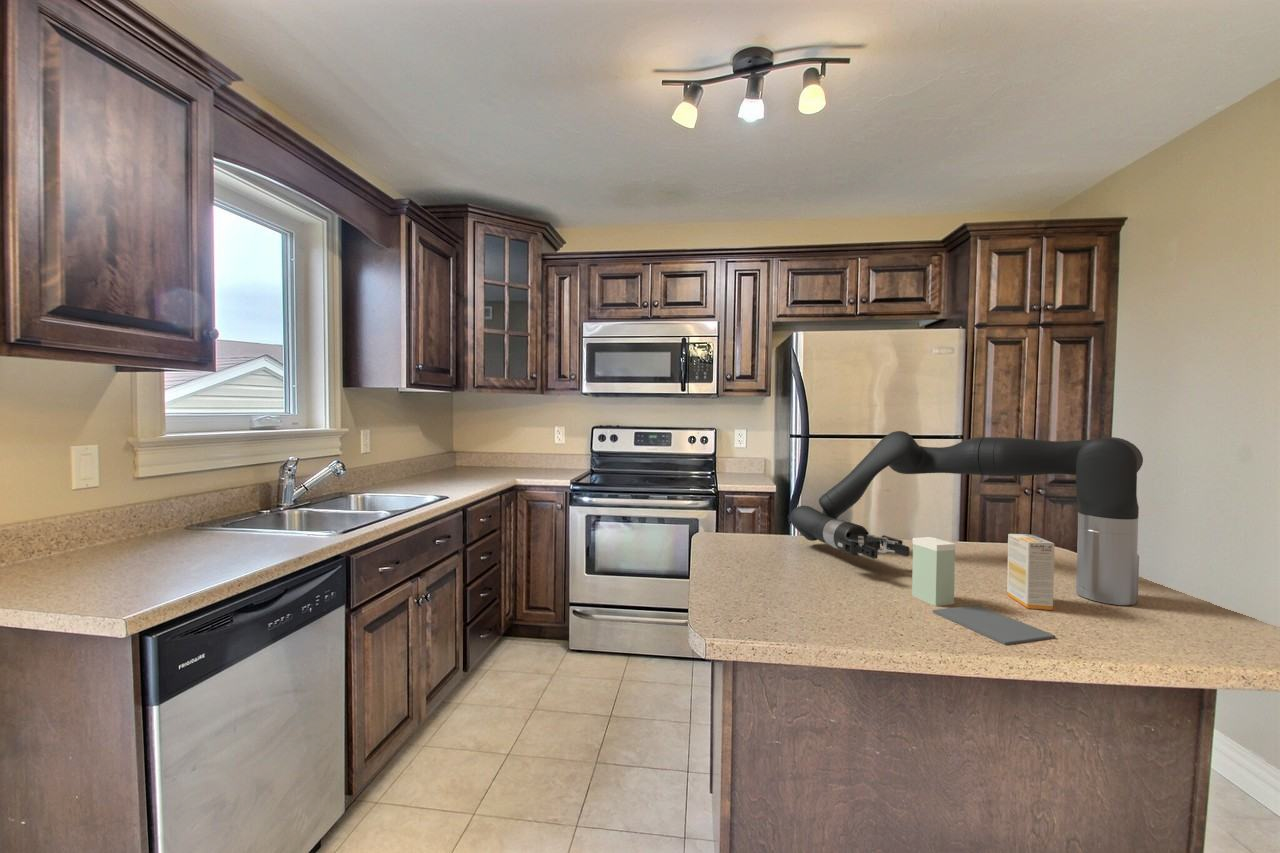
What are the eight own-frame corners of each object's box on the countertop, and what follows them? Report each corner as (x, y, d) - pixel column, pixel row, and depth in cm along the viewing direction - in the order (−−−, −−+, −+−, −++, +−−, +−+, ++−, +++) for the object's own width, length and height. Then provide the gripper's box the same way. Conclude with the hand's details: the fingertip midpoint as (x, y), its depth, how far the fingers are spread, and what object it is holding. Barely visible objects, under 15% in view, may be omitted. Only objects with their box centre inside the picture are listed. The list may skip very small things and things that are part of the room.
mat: (978, 606, 101) (978, 604, 101) (1055, 637, 87) (1055, 635, 87) (932, 612, 98) (932, 610, 98) (1004, 644, 84) (1004, 642, 84)
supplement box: (1054, 611, 100) (1056, 543, 99) (1026, 608, 101) (1028, 541, 100) (1031, 596, 108) (1033, 533, 107) (1005, 594, 109) (1007, 532, 108)
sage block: (929, 593, 109) (930, 536, 108) (954, 604, 103) (955, 543, 102) (911, 595, 107) (912, 538, 107) (935, 606, 102) (936, 545, 101)
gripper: (821, 522, 129) (865, 538, 114) (869, 520, 133) (919, 534, 118) (820, 552, 130) (865, 571, 114) (868, 549, 133) (918, 567, 118)
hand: (892, 553), depth 116 cm, fingers open, 8 cm apart
